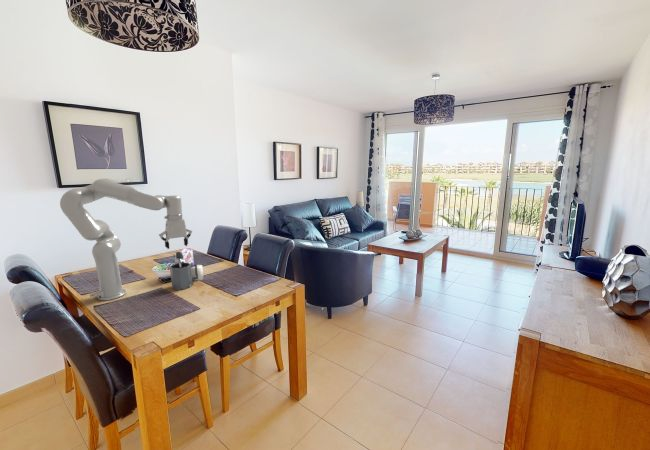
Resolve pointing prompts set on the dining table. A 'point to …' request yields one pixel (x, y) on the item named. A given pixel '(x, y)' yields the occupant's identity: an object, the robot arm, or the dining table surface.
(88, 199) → the robot arm
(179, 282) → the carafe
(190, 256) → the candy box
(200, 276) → the mug
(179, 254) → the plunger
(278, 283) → the dining table surface
